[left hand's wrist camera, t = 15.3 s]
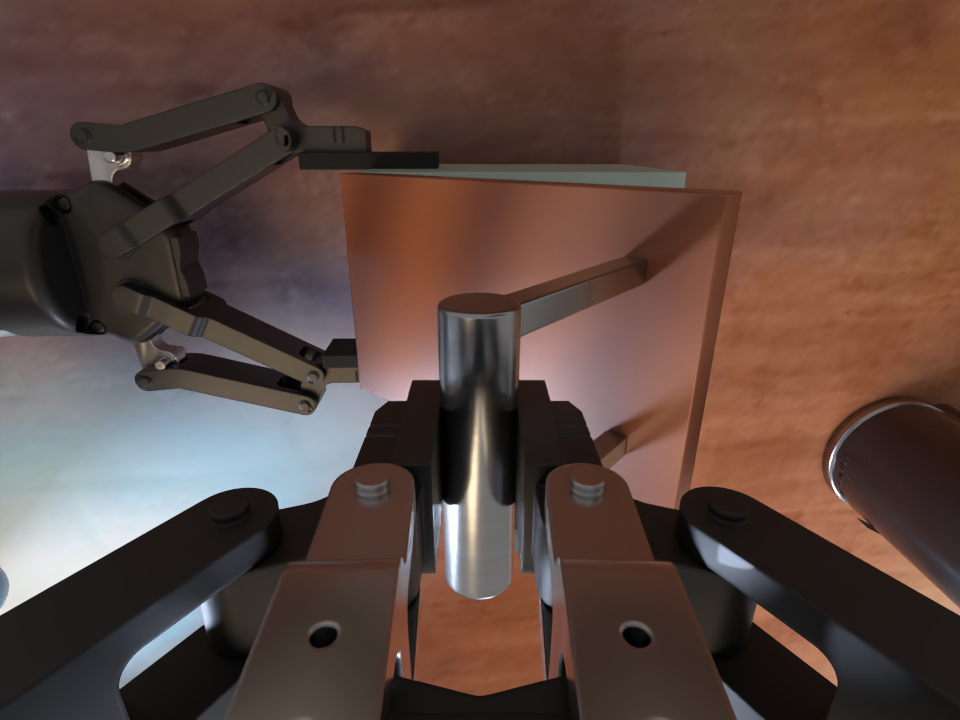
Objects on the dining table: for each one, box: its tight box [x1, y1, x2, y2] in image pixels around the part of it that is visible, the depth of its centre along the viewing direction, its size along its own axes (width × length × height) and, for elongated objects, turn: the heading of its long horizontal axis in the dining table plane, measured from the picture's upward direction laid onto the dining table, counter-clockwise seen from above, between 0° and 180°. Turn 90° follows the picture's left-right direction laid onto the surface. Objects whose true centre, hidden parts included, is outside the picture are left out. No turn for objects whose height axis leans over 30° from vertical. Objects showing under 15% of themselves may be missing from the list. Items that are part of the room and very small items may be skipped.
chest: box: [356, 163, 686, 188], centre depth 29 cm, size 14×10×11 cm
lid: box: [341, 172, 742, 600], centre depth 17 cm, size 15×10×8 cm
